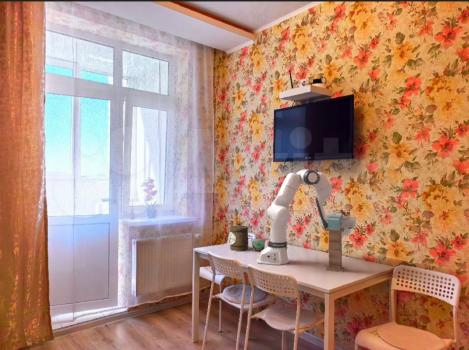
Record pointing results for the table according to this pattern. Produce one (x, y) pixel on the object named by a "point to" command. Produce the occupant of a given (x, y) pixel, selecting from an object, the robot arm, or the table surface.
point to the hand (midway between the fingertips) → (338, 215)
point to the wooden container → (239, 237)
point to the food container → (258, 244)
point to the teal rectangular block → (335, 221)
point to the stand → (335, 250)
